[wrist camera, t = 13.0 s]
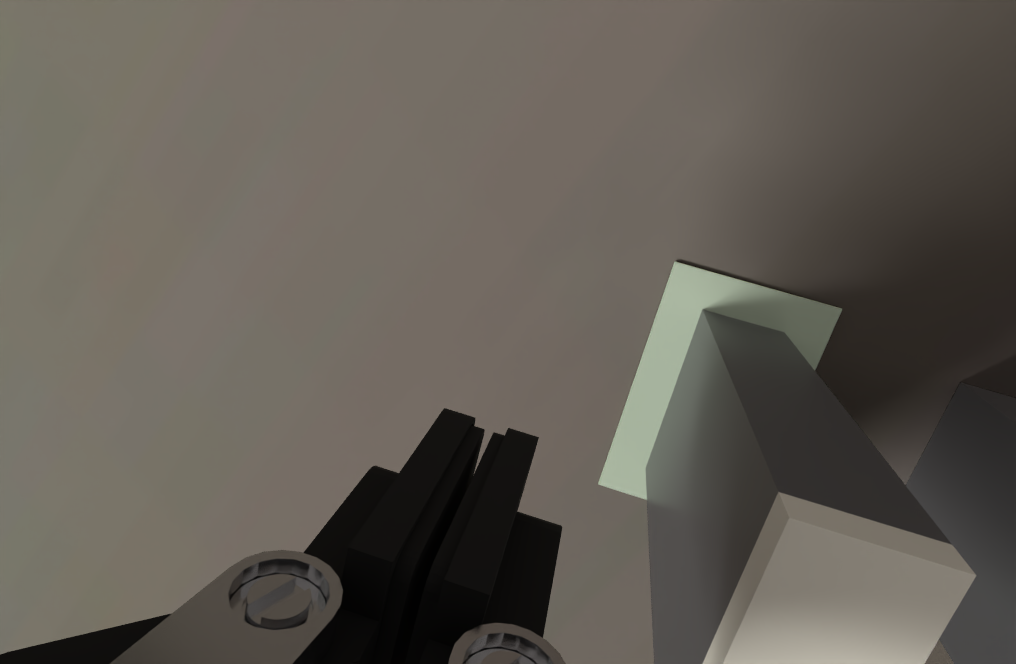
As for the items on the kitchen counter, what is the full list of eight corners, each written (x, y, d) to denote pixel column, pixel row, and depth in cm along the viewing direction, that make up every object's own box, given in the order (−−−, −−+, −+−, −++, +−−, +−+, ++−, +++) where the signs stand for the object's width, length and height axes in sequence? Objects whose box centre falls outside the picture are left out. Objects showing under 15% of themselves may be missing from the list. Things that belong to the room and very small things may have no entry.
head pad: (743, 529, 19) (743, 531, 19) (598, 482, 19) (598, 484, 19) (841, 308, 17) (842, 309, 17) (674, 261, 17) (675, 261, 17)
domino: (719, 491, 19) (811, 854, 9) (645, 468, 19) (660, 800, 9) (784, 332, 17) (976, 574, 8) (702, 309, 17) (788, 517, 8)
